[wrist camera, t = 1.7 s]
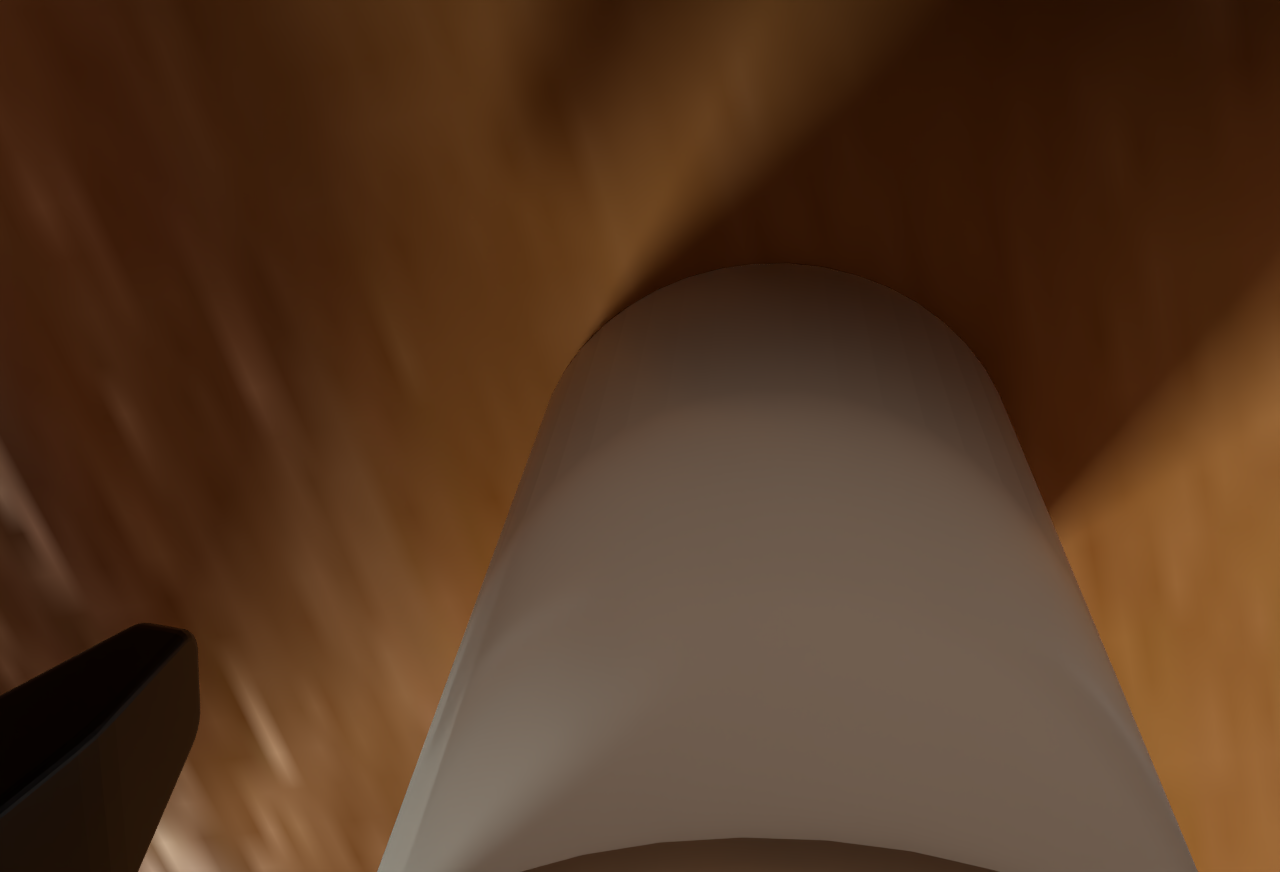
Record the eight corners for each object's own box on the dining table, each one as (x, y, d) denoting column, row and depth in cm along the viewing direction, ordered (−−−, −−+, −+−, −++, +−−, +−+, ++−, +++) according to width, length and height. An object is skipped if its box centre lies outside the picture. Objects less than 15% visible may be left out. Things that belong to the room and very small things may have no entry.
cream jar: (505, 640, 14) (249, 1465, 7) (554, 210, 11) (228, 829, 4) (947, 718, 14) (1137, 1629, 7) (1096, 304, 11) (1636, 1078, 4)
